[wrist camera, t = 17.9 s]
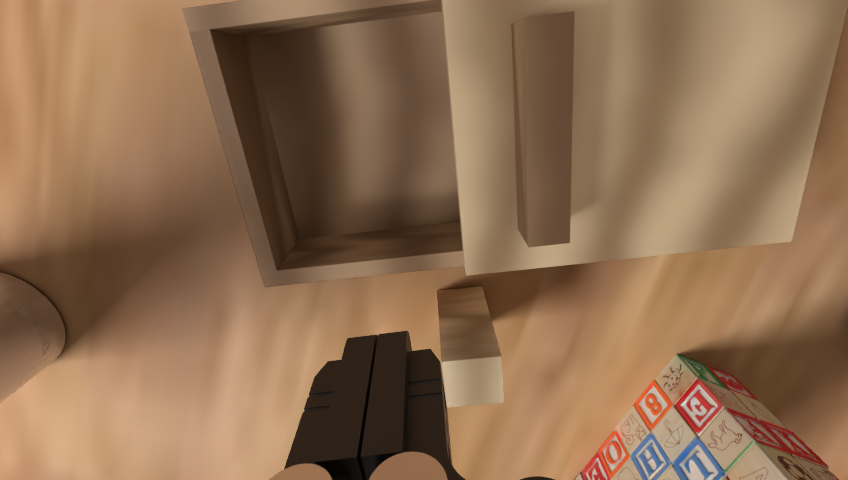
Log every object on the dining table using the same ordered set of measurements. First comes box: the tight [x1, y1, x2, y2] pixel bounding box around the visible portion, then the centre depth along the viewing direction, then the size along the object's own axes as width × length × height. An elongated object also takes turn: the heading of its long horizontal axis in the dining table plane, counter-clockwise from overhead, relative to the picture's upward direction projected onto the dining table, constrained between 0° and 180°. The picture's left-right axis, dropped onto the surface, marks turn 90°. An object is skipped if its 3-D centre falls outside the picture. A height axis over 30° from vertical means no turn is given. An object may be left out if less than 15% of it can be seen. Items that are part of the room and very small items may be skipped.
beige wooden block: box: [437, 286, 504, 408], centre depth 29 cm, size 4×4×8 cm
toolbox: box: [182, 0, 464, 287], centre depth 25 cm, size 24×15×6 cm, turn 97°
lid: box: [441, 0, 848, 276], centre depth 20 cm, size 18×15×4 cm
